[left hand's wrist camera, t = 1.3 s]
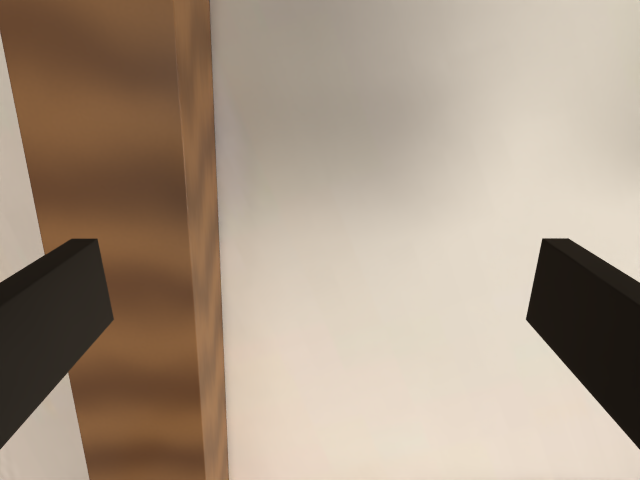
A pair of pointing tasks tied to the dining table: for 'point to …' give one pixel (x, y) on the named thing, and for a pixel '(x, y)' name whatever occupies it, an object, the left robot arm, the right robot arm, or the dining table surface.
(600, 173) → the dining table surface
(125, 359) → the wooden square beam
